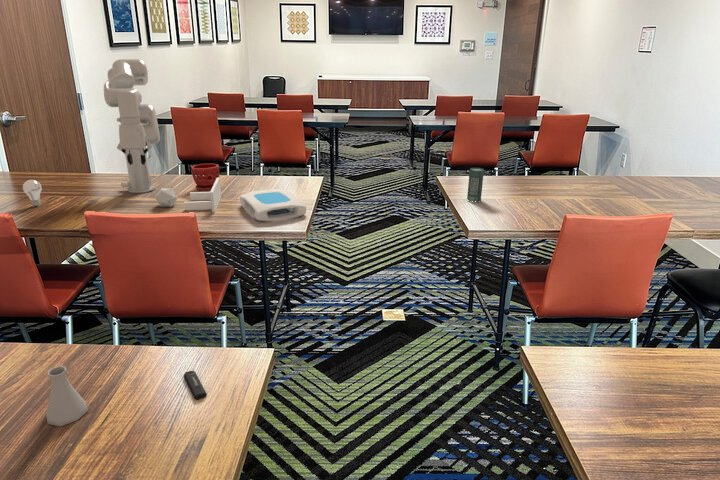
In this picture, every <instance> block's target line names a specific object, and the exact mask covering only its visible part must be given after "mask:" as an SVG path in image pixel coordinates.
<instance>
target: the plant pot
mask: <svg viewBox="0 0 720 480" xmlns="http://www.w3.org/2000/svg"><path fill="white" fill-rule="evenodd" d="M190 167H191V168H190V169H191V175H192V178H193V181H194V183H195V184H196V185H195V189H196V190H197V191H198V192H210V191H211V189H212V187H213V185H214V183H215V181H216V179H217V178H219V177H220V166H219V164H217V163H200V164H196V165H193V166H190Z"/></svg>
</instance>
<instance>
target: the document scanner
mask: <svg viewBox="0 0 720 480" xmlns="http://www.w3.org/2000/svg"><path fill="white" fill-rule="evenodd" d="M239 201H240V205H241V207H242V208H243V210H244V211H245V212H246V213H247V214H248V215H249V216H250V217H251V218H252V219H253V218H254V220H256V221H261V222H267V223H272V222H279V221H286V220H292V219H297V218H299V217H301V216H304V215H306V214H307V205H306V204H305V203H304V201H302V199H301V198H300V197H299V196H297V195H296V194H294V193H292V191H290V190H286V189H277V188H269V189H260V190H252V191H249V192H246V193H244V194H241V195H240V196H239ZM282 209H286V210H287V211H288V212H284V213H280V214H279V213H278V214H268V212H271V211H274V210H275V211H276V210H282Z"/></svg>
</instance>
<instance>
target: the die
mask: <svg viewBox="0 0 720 480" xmlns="http://www.w3.org/2000/svg"><path fill="white" fill-rule="evenodd" d="M154 198H155V200H156V202H157V203H158V205H159V207H162V208H163V207H165V208H166V207H169V208H172V207H173V206H174V204H175V203H176V202H177V199H178V196H177V194H176V193H175V191H174V189H173V188H172V187H171V188H169V187H167V188H165V187H163V188H162V187H161V188H160V189H159V190H158V191H157V193H156V195H155V196H154Z"/></svg>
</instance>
